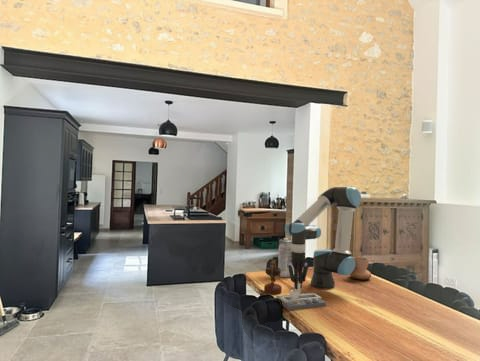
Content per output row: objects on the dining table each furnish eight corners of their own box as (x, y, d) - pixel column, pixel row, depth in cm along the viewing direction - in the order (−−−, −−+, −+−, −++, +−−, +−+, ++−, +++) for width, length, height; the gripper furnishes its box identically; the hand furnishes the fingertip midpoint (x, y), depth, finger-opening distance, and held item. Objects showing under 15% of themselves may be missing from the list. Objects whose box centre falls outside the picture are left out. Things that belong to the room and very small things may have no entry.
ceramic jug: (364, 275, 231) (364, 255, 231) (377, 280, 217) (376, 259, 217) (342, 276, 227) (342, 257, 227) (354, 282, 212) (353, 261, 213)
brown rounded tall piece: (283, 295, 183) (281, 261, 183) (264, 297, 183) (262, 262, 184) (280, 287, 198) (278, 255, 199) (263, 288, 198) (261, 256, 199)
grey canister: (294, 277, 221) (294, 239, 221) (279, 277, 221) (279, 239, 222) (292, 274, 230) (292, 237, 230) (277, 274, 230) (278, 237, 230)
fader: (295, 297, 173) (295, 289, 173) (298, 300, 169) (298, 291, 170) (289, 298, 172) (290, 290, 172) (292, 300, 168) (293, 292, 169)
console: (310, 296, 183) (310, 290, 183) (326, 306, 167) (326, 299, 168) (276, 299, 176) (276, 293, 176) (289, 310, 161) (289, 303, 161)
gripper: (305, 249, 178) (305, 291, 177) (284, 250, 174) (284, 293, 173) (312, 252, 170) (312, 295, 170) (290, 253, 166) (290, 298, 166)
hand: (297, 294), depth 171 cm, fingers closed
